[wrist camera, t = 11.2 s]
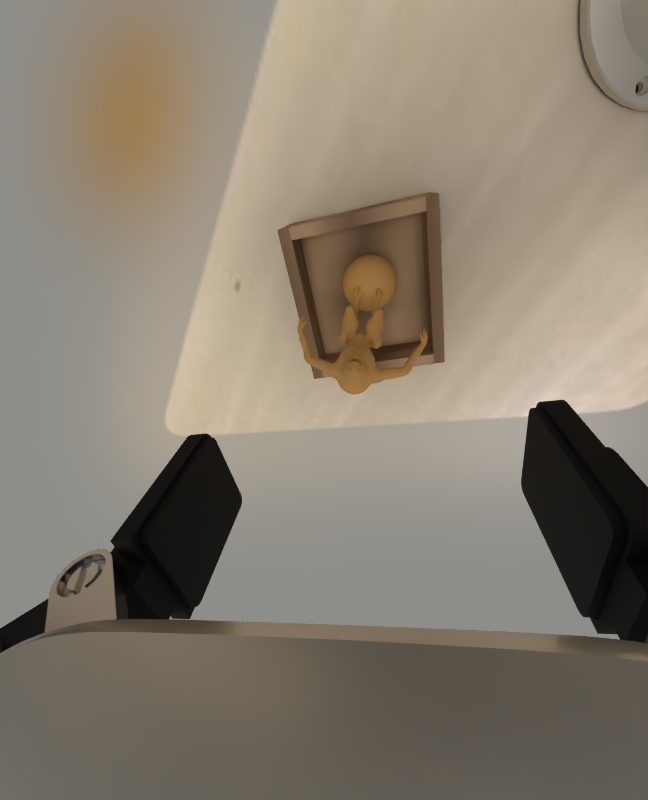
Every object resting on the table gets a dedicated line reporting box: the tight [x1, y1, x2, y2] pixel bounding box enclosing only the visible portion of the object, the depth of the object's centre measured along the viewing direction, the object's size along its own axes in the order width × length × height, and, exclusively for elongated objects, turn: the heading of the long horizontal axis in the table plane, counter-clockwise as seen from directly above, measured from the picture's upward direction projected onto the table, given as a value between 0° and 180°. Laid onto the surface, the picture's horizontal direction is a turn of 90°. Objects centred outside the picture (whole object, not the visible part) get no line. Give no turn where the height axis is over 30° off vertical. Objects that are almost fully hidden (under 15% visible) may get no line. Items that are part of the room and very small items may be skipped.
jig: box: [278, 193, 445, 379], centre depth 27 cm, size 11×12×4 cm
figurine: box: [298, 254, 428, 394], centre depth 23 cm, size 8×6×12 cm
